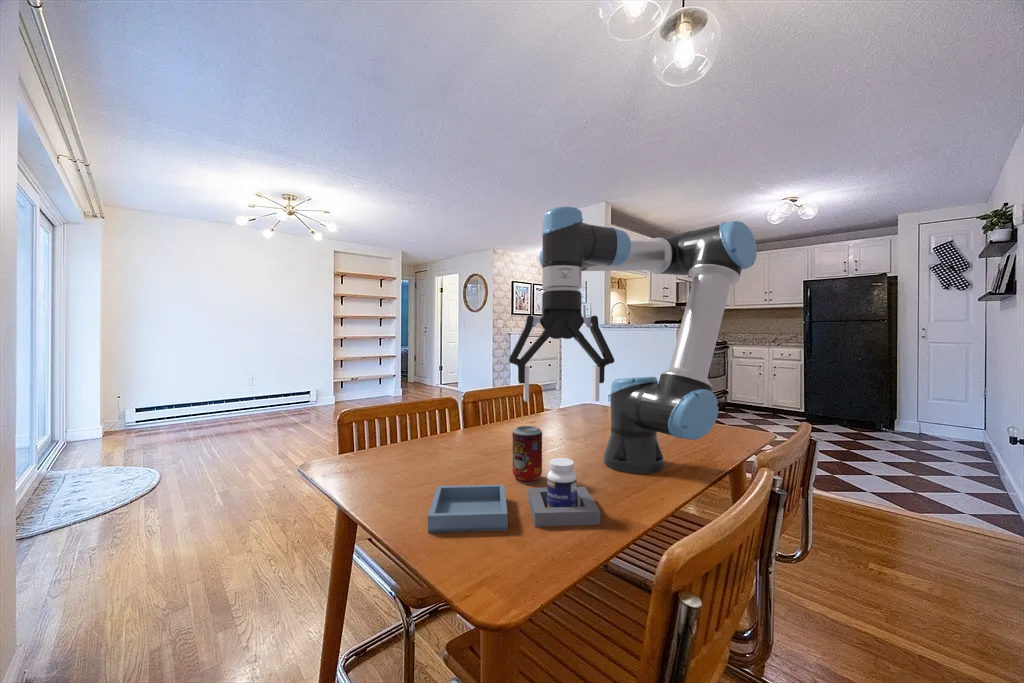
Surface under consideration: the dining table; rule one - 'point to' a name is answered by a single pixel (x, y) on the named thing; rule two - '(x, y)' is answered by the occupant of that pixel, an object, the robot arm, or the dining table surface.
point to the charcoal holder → (563, 510)
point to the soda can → (527, 454)
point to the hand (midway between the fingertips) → (561, 400)
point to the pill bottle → (561, 483)
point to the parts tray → (468, 509)
